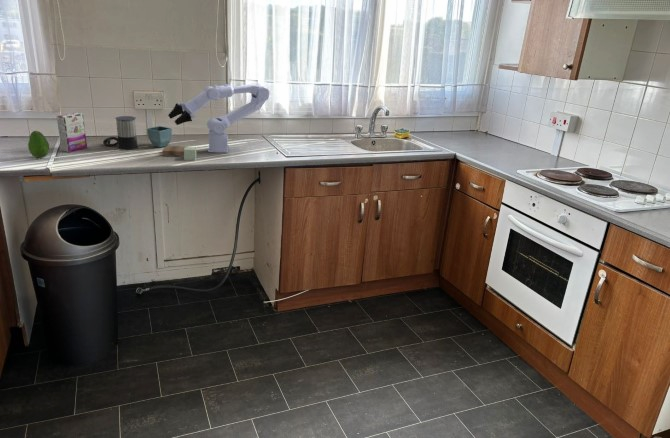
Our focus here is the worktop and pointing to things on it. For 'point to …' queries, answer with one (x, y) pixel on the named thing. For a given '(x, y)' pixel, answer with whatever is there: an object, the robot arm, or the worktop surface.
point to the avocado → (38, 144)
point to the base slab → (173, 151)
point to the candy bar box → (72, 132)
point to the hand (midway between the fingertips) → (172, 120)
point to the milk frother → (124, 134)
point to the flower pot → (159, 136)
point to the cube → (190, 153)
